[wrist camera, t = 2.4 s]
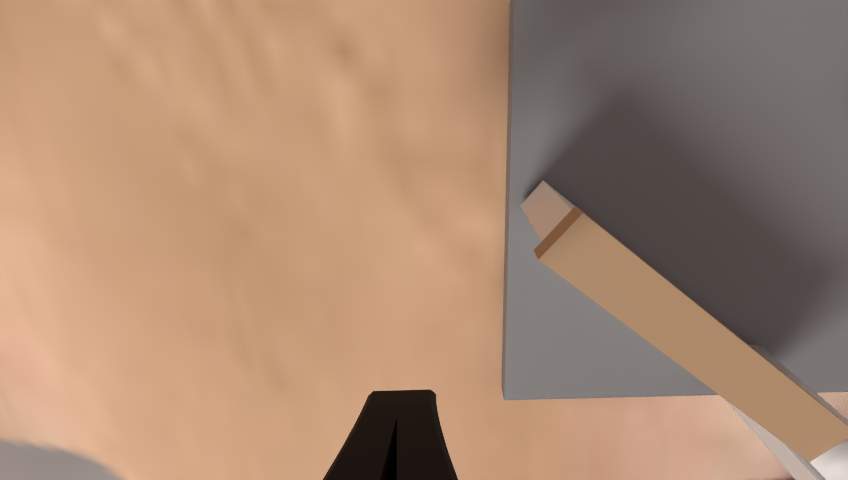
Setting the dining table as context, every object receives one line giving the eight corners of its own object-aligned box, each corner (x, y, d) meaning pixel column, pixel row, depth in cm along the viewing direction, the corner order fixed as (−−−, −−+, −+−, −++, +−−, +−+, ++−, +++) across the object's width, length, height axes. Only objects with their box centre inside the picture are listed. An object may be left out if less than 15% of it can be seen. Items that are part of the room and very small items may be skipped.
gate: (777, 359, 18) (899, 463, 13) (741, 386, 18) (845, 494, 14) (540, 166, 15) (588, 212, 10) (506, 205, 15) (537, 265, 11)
